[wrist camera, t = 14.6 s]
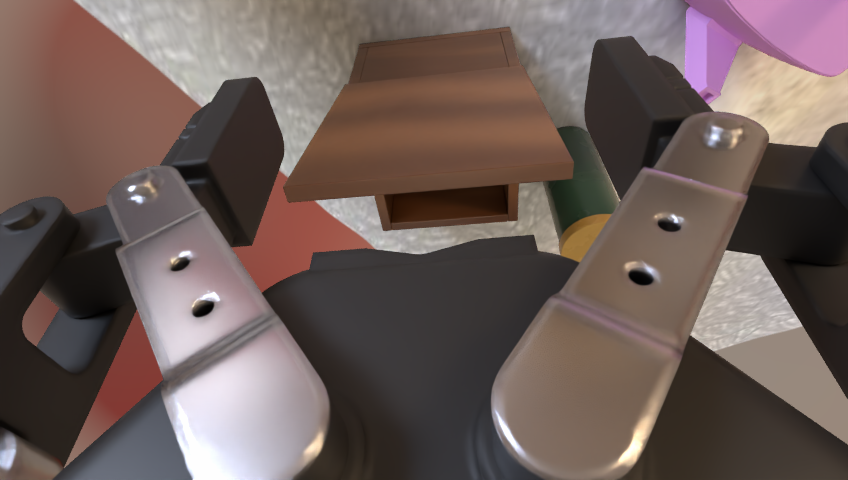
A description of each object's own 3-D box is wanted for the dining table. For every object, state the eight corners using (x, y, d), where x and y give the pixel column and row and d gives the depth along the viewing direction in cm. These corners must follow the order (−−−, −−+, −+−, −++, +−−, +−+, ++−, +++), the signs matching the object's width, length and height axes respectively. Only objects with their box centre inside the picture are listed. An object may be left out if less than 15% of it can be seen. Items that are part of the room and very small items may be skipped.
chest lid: (572, 179, 20) (574, 161, 20) (287, 203, 21) (282, 186, 21) (523, 77, 33) (523, 64, 32) (347, 95, 34) (344, 84, 34)
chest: (508, 170, 49) (517, 221, 43) (388, 181, 50) (383, 231, 45) (509, 26, 39) (522, 68, 33) (359, 44, 40) (346, 87, 34)
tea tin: (533, 176, 49) (558, 275, 39) (536, 127, 45) (564, 225, 35) (590, 171, 49) (629, 271, 39) (598, 122, 45) (644, 219, 35)
